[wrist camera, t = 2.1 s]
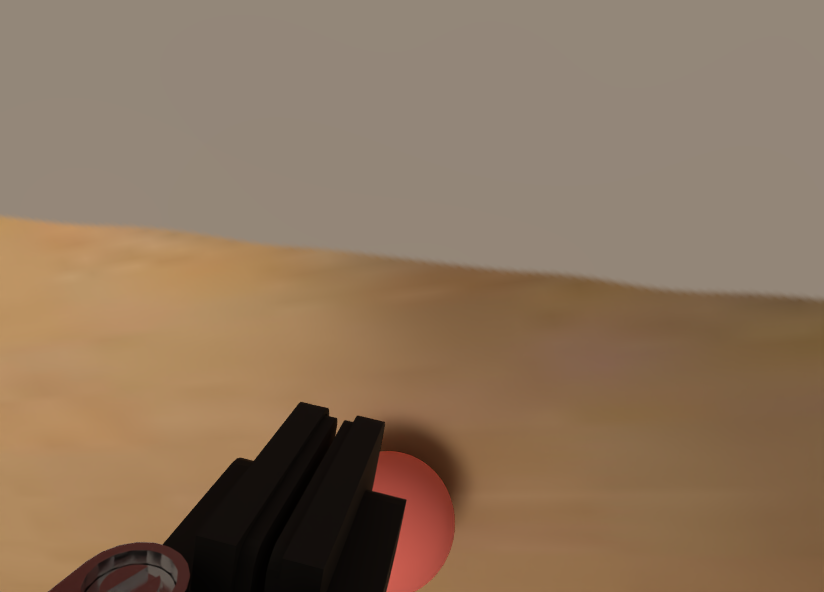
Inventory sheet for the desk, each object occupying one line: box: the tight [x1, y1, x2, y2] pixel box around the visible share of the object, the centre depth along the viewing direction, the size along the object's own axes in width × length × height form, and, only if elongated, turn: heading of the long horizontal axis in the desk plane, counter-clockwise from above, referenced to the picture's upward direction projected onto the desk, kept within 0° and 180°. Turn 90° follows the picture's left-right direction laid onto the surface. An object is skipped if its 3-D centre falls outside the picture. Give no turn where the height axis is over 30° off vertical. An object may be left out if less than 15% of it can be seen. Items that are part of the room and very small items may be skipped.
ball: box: [372, 451, 455, 592], centre depth 25 cm, size 6×6×6 cm
